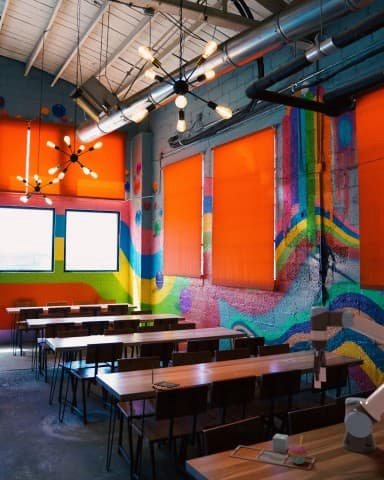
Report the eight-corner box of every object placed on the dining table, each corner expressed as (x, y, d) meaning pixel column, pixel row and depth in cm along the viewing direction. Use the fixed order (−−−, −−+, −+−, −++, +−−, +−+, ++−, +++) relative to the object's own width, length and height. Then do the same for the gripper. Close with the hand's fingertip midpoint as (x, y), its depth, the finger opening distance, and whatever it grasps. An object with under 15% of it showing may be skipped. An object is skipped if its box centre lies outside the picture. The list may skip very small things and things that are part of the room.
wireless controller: (181, 389, 341) (181, 365, 342) (168, 393, 330) (168, 368, 331) (160, 385, 353) (160, 362, 354) (148, 388, 342) (148, 365, 343)
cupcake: (305, 458, 214) (304, 431, 214) (310, 465, 205) (309, 437, 206) (286, 458, 213) (285, 431, 214) (291, 466, 205) (290, 438, 206)
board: (239, 445, 229) (239, 445, 229) (315, 458, 213) (315, 457, 213) (229, 456, 216) (229, 455, 216) (309, 470, 200) (309, 469, 200)
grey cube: (276, 446, 228) (276, 433, 229) (288, 448, 226) (288, 435, 226) (273, 450, 223) (272, 437, 224) (285, 452, 220) (285, 439, 221)
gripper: (316, 335, 235) (317, 378, 234) (305, 342, 213) (306, 389, 211) (331, 336, 232) (332, 379, 231) (322, 343, 209) (323, 391, 208)
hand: (320, 384), depth 221 cm, fingers open, 13 cm apart
